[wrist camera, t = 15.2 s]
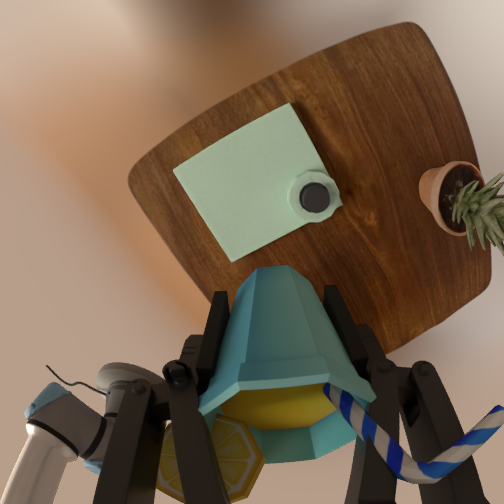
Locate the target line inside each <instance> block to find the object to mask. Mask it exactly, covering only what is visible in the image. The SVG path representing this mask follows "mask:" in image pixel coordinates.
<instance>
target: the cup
mask: <svg viewBox="0 0 504 504" xmlns="http://www.w3.org/2000/svg"><path fill="white" fill-rule="evenodd" d="M376 398H377V397H376V395H375V393H374V392H373V390H372V389H371V386H370V384H369V382H368V381H366V380H365V379H363V378H361V377H359V376H358V374H357V372H356V370H355V368H354V366H353V365H352V363H351V361H350V358H349V356H348V354H347V352H346V350H345V348H344V346H343V344H342V342H341V340H340V338H339V336H338V334H337V332H336V330H335V328H334V326H333V324H332V322H331V320H330V319H329V317H328V315H327V313H326V311H325V309H324V307H323V305H322V303H321V301H320V300H319V298H318V296H317V294H316V292H315V290H314V288H313V286H312V285H311V283H310V281H308V280H307V279H306V278H304V277H303V276H302V275H301V274H299V273H298V272H297V271H295V270H294V269H293V268H291V267H290V266H289V265H282V266H271V267H261V268H256V270H255V271H254V272H253V273H252V274H251V275H250V276H249V277H248V278H247V280H246V281H245V282H244V283H243V284H242V285H241V286H240V287H239V288H238V291H237V294H236V298H235V301H234V304H233V307H232V311H231V314H230V317H229V320H228V324H227V327H226V330H225V333H224V337H223V340H222V343H221V346H220V351H219V355H218V360H217V364H216V369H215V373H214V376H213V377H212V378H211V379H210V382H209V386H208V389H207V391H206V392H204V393H203V394H202V395H201V396H199V404H200V406H199V409H198V411H199V412H201V414H202V416H204V418H205V421H206V423H207V426H208V429H209V431H210V434H211V438H212V442H213V446H214V450H215V453H216V457H217V461H218V464H219V468H220V471H221V474H222V478H223V481H224V484H225V487H226V491H227V494H228V497H229V500H230V502H231V503H233V502H236V501H239V500H242V499H245V498H247V497H248V496H249V494H250V492H251V490H252V488H253V486H254V484H255V482H256V480H257V478H258V476H259V474H260V472H261V469H262V467H263V465H264V464H270V463H284V462H295V461H304V460H312V459H316V458H319V457H321V456H323V455H325V454H328V453H330V452H332V451H333V450H336V449H338V448H340V447H342V446H343V445H345V444H347V443H349V442H351V441H353V440H355V439H356V436H357V434H358V435H359V437H360V438H361V439H362V440H363V441H364V442H365V441H366V439H367V435H368V434H369V436H370V438H371V440H372V442H373V443H374V445H375V447H376V449H377V451H378V453H379V454H380V455H381V457H382V458H383V459H384V461H385V462H386V463H387V465H388V466H389V467H390V469H391V470H392V471H393V473H394V474H395V475H396V476H397V478H398V479H401V480H403V481H406V482H409V483H412V484H430V483H436V482H438V481H439V480H440V479H442V478H443V477H444V476H446V475H447V474H448V473H450V472H451V471H452V470H454V469H455V468H456V467H457V466H459V465H460V464H461V463H462V462H464V461H465V460H466V459H467V458H468V457H469V456H471V455H472V454H473V453H474V452H475V451H476V450H477V449H478V448H480V447H481V446H482V445H483V444H484V443H485V442H486V441H487V440H488V439H489V438H490V437H491V436H492V435H493V434H494V433H495V432H496V431H497V430H498V429H499V428H500V427H501V426H502V425H503V424H504V407H502V406H500V405H497V406H495V407H494V408H493V409H492V410H491V411H490V412H489V413H488V414H487V415H486V416H485V417H484V418H483V419H482V420H481V421H480V422H479V423H477V424H476V425H475V426H474V427H473V428H472V429H471V430H470V431H469V432H467V433H466V434H465V435H464V436H463V437H461V438H460V439H459V440H458V441H457V442H455V443H454V444H453V445H452V446H450V447H449V448H448V449H446V450H445V451H444V452H442V453H441V454H440V455H438V456H437V457H436V458H434V459H433V460H431V461H430V462H428V463H426V462H418V461H414V460H413V459H412V458H411V457H410V456H409V455H408V454H407V453H406V452H405V451H404V450H403V449H402V447H401V446H400V445H399V444H398V443H397V442H396V441H395V440H394V439H393V438H392V437H391V436H389V435H388V434H387V433H386V432H385V431H384V430H383V429H382V428H381V427H380V426H379V425H377V424H376V423H375V422H374V421H373V420H372V419H371V418H370V417H369V414H368V412H367V411H366V410H365V407H366V405H367V403H368V402H370V403H371V402H372V401H373V400H375V399H376ZM156 488H157V489H158V490H160V491H162V492H163V493H165V494H167V495H169V496H171V497H172V498H174V499H176V500H178V501H180V502H182V503H184V504H185V499H184V495H183V490H182V485H181V481H180V475H179V470H178V464H177V459H176V453H175V446H174V440H173V432H172V425H171V423H169V424H168V426H167V427H166V429H165V433H164V439H163V444H162V450H161V456H160V463H159V469H158V476H157V483H156Z"/></svg>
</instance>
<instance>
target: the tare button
mask: <svg viewBox="0 0 504 504" xmlns="http://www.w3.org/2000/svg"><path fill="white" fill-rule="evenodd" d="M301 199H302V203H303V204H304V206H305V207H306V208H307V210H309V211H310V212H312V213H321V212H323V211H325V210H326V209H327V207H328V206H329V203H330V196H329V193H328V192H327V191H326V190H325V189H324V188H323V187H321V186H320V185H317V184H312V185H309V186H307V187H306V188H305V189H304V190H303V192H302V195H301Z"/></svg>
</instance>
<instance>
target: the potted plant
mask: <svg viewBox="0 0 504 504" xmlns="http://www.w3.org/2000/svg"><path fill="white" fill-rule="evenodd" d="M503 175H504V173H500V174H498V175H497V176H496V177H495V178H493V179H492V180H491V181H490V182H488V183H487V184H486V185H485V183H484V179H483V177H482V175H481V173H480V171H479V170H478V169H477V168H476V166H474V165H473V164H471V163H469V162H464V161H453V162H449V163H448V164H446V165H445V166H443V167H439V168H432V169H429V170H427V171H426V172H425V173H424V174H423V175H422V177H421V179H420V182H419V193H420V198H421V200H422V202H423V203H424V204H425V206H426V207H427V208H428V209H429V210H430V211H431V213H432V214H433V215H434V218H435V220H436V222H437V223H438V225H439V226H440V227H441V228H443V229H444V230H445V231H447V232H448V233H450V234H452V235H455V236H463V235H467V237H468V241H469V245H470V250H471V251H472V246H474V241H476V240H475V237H474V232H473V229H475V228H476V229H477V233H478V237H479V240H480V243H481V245H482V247H483V249H484V250H486V247H485V236H486V237H487V238H488V240H489V241H490V242H491V243H492V244H493V245H494V246H497V247H498V248H499V250H500V251H501V252H502V254H503V256H504V244H503V241H504V202H503V201H504V195H497V193H498V191H499V190H500V188H501V187H502V185H503V184H504V182H502V183H499V184H498V185H497V186H496V187H495V188H494V187H493V188H491V187H492V186H493V185H494V184H496V183H497V182H498V181H499V180H500V178H501V177H502V176H503ZM486 193H487V194H486ZM501 202H503V203H501ZM502 240H503V241H502Z"/></svg>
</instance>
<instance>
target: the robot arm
mask: <svg viewBox="0 0 504 504" xmlns="http://www.w3.org/2000/svg"><path fill="white" fill-rule="evenodd" d="M323 307H324V309H325V311H326V313H327V315H328V317H329V319H330V320H331V322H332V324H333V326H334V328H335V330H336V332H337V334H338V336H339V338H340V340H341V342H342V344H343V346H344V348H345V350H346V352H347V354H348V356H349V358H350V361H351V363H352V365H353V366H354V368H355V370H356V372H357V374H358V376H359V377H361V378H363V379H365V380H366V381H368V382H369V384H370V386H371V389H372V390H373V392H374V393H375V395H376V397H377V398H376V399H375V400H373V401H372V402H371V403H370V402H368V403H367V405H366V407H365V410H366V411H367V412H368V414H369V417H370V418H371V419H372V420H373V421H374V422H375V423H376V424H377V425H379V426H380V427H381V428H382V429H383V430H384V431H385V432H386V433H387V434H388V435H389V436H391V437H392V438H393V439H394V440H395V441H396V442H397V443H398V444H399V412H400V415H401V418H402V421H403V425H404V429H405V432H406V435H407V439H408V443H409V446H410V451H411V455H412V459H413V460H414V461H418V462H426V463H428V462H430V461H431V460H433V459H434V458H436V457H437V456H438V455H440V454H441V453H442V452H444V451H445V450H446V449H448V448H449V447H450V446H452V445H453V444H454V443H455V442H457V441H458V440H459V439H460V438H461V437H463V436H464V435H465V434H464V432H463V429H462V427H461V424H460V422H459V420H458V417H457V415H456V412H455V410H454V408H453V406H452V403H451V401H450V399H449V397H448V394H447V392H446V390H445V388H444V386H443V384H442V382H441V379H440V377H439V376H438V373H437V371H436V369H435V368H434V366H433V365H432V364H431V363H429V362H427V361H418V362H415V363H414V365H413V366H412V368H407V367H397V366H396V365H395V364H394V362H392V361H390V360H389V359H387V358H386V356H385V354H384V352H383V350H382V348H381V346H380V344H379V342H378V340H377V338H376V336H375V334H374V332H373V330H372V329H371V328H370V327H369V326H368V325H367V324H361V325H355V324H354V322H353V320H352V317H351V315H350V313H349V311H348V309H347V307H346V304H345V302H344V300H343V298H342V296H341V294H340V292H339V290H338V288H337V286H336V285H326V286H325V287H324V300H323ZM229 317H230V311H229V304H228V296H227V291H215V293H214V296H213V300H212V304H211V308H210V312H209V316H208V319H207V323H206V327H205V331H204V335H190V336H189V337H188V338H187V339H186V340H185V343H184V346H183V349H182V352H181V353H182V354H181V356H180V359H179V360H173V361H170V362H168V363H167V364H166V365H165V366H164V367H163V371H162V372H163V375H164V377H165V380H166V382H162V383H158V384H152V385H151V384H150V382H149V381H147V380H145V379H136V380H134V381H132V382H130V381H123V380H119V381H114V382H112V383H111V384H110V385H109V387H108V390H107V394H106V393H104V392H102V391H99V390H97V389H95V388H93V387H91V386H89V385H88V384H85V383H83V382H75V383H73V384H70V383H67V382H65V381H64V380H62V379H61V378H60V377H59V376H58V375H57V374H56V373H55V372H54V371H53V370H52V369H51V368H50V367H49V366H48V365H46V367H47V368H48V369H49V370H50V371H51V372H52V373H53V374H54V375H55V376H56V377H57V378H58V379H59V380H60V381H61V382H63V383H64V384H66V385H69V386H75V385H77V384H81V385H84V386H86V387H88V388H89V389H91V390H93V391H95V392H98V393H100V394H102V395H104V396H106V411H105V415H104V417H102V416H101V415H100V414H98V413H97V412H95V411H94V410H92V409H91V408H90V407H88V406H87V405H86V404H84V403H83V402H82V401H80V400H79V399H78V398H77V397H75V396H74V395H73V394H72V393H71V392H70V391H67V390H66V389H65V388H64V387H62V386H61V385H60V384H58V383H56V382H52V383H50V384H49V385H48V386H47V387H46V388H45V389H44V390H43V391H42V392H41V393H40V394H39V396H38V397H37V398H36V399H35V400H34V401H33V403H32V404H31V405H30V406H29V407H28V409H27V410H26V411H25V413H24V415H25V417H26V419H28V420H29V421H28V422H27V424H26V429H27V433H28V435H29V437H28V439H27V441H26V443H25V446H24V447H23V449H22V452H21V453H20V456H19V458H18V460H17V462H16V464H15V467H14V469H13V471H12V473H11V476H10V478H9V480H8V483H7V485H6V488H5V490H4V493H3V496H2V498H1V501H0V504H52V503H53V500H54V497H55V494H56V492H57V489H58V486H59V483H60V480H61V477H62V474H63V472H64V469H65V466H66V464H67V462H72V461H76V460H77V458H78V456H80V457H82V458H83V459H85V461H84V466H85V467H86V468H88V469H89V470H90V471H92V472H94V473H96V474H98V475H99V479H98V483H97V487H96V491H95V495H94V500H93V504H154V497H155V490H156V483H157V476H158V469H159V463H160V456H161V450H162V444H163V439H164V433H165V427H166V422H167V421H168V420H171V425H172V432H173V440H174V446H175V453H176V459H177V464H178V470H179V475H180V481H181V485H182V490H183V495H184V499H185V504H231V502H230V500H229V497H228V494H227V491H226V487H225V484H224V481H223V478H222V474H221V471H220V468H219V464H218V461H217V457H216V453H215V450H214V446H213V442H212V438H211V434H210V431H209V429H208V426H207V423H206V421H205V418H204V416H202V414H201V412H199V411H198V409H199V406H200V404H199V396H201V395H202V394H203V393H204V392H206V391H207V389H208V386H209V382H210V379H211V378H212V377H213V376H214V373H215V369H216V364H217V360H218V355H219V351H220V346H221V343H222V340H223V337H224V333H225V330H226V327H227V324H228V320H229ZM396 485H397V476H396V475H395V474H394V473H393V471H392V470H391V469H390V467H389V466H388V465H387V463H386V462H385V461H384V459H383V458H382V457H381V455H380V454H379V453H378V451H377V449H376V447H375V445H374V443H373V442H372V440H371V438H370V436H369V434H368V435H367V439H366V441H365V442H364V441H363V440H362V439H361V438H360V437H359V435H358V434H357V436H356V445H355V451H354V457H353V464H352V470H351V475H350V480H349V486H348V490H347V494H346V499H345V503H344V504H396V502H395V494H396ZM418 485H419V490H420V495H421V500H422V504H490V503H489V502H488V500H487V499H486V498H485V496H484V493H483V489H482V486H481V482H480V479H479V475H478V472H477V469H476V466H475V463H474V460H473V457H472V455H471V456H469V457H468V458H467V459H466V460H465V461H464V462H462V463H461V464H460V465H459V466H457V467H456V468H455V469H454V470H452V471H451V472H450V473H448V474H447V475H446V476H444V477H443V478H442V479H440V480H439V481H438V482H436V483H430V484H418Z"/></svg>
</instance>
